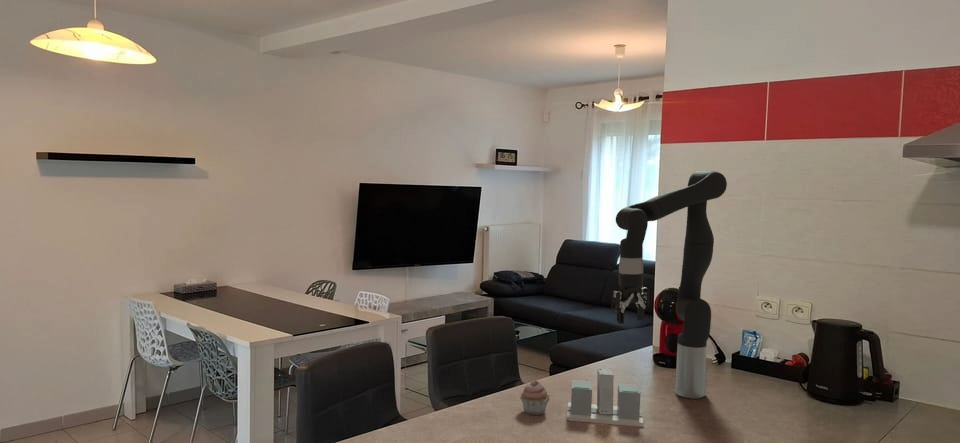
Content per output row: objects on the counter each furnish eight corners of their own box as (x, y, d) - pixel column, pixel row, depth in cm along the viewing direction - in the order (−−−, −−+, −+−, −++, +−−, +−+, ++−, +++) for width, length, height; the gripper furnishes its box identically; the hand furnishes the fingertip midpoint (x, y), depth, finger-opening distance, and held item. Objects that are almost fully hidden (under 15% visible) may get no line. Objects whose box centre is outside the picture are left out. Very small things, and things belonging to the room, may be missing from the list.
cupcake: (515, 414, 189) (516, 382, 188) (524, 404, 198) (524, 373, 197) (545, 419, 186) (546, 386, 185) (552, 408, 194) (553, 377, 194)
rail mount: (639, 411, 194) (641, 382, 193) (643, 426, 182) (644, 395, 181) (568, 405, 197) (569, 376, 196) (567, 420, 185) (568, 389, 185)
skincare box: (613, 415, 186) (615, 375, 186) (598, 414, 187) (599, 374, 186) (610, 407, 193) (611, 368, 192) (595, 406, 193) (597, 368, 192)
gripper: (638, 268, 204) (638, 316, 206) (605, 271, 197) (605, 322, 198) (656, 270, 198) (655, 321, 199) (623, 274, 191) (622, 327, 192)
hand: (630, 321), depth 199 cm, fingers open, 8 cm apart
